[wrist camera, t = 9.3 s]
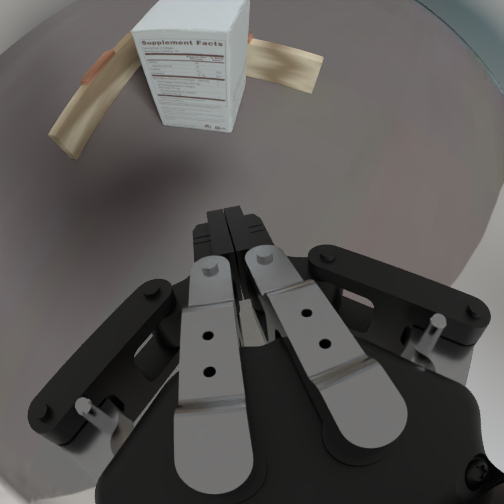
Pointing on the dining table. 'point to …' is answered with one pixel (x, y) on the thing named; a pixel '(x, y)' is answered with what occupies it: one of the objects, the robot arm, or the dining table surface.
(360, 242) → the dining table surface
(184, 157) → the dining table surface
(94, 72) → the wooden corner bracket
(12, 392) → the dining table surface
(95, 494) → the robot arm
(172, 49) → the supplement box
